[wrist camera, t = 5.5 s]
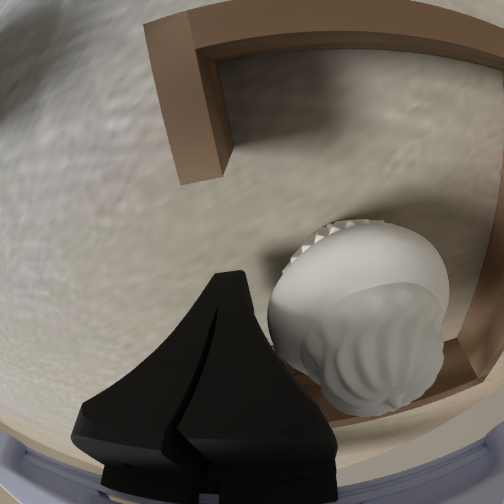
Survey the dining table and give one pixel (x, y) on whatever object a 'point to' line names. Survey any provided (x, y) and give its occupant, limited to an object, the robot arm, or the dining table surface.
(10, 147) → the dining table surface
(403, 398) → the muffin
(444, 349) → the brown wooden u-shaped frame
